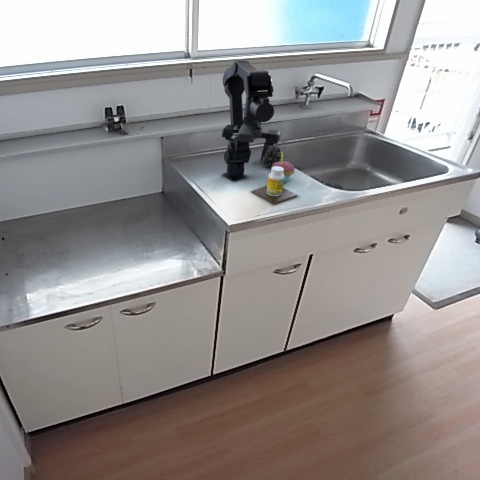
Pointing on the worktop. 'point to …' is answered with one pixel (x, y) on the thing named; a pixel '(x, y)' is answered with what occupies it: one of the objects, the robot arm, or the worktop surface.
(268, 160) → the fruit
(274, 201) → the plate
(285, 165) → the cupcake
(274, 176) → the supplement bottle
